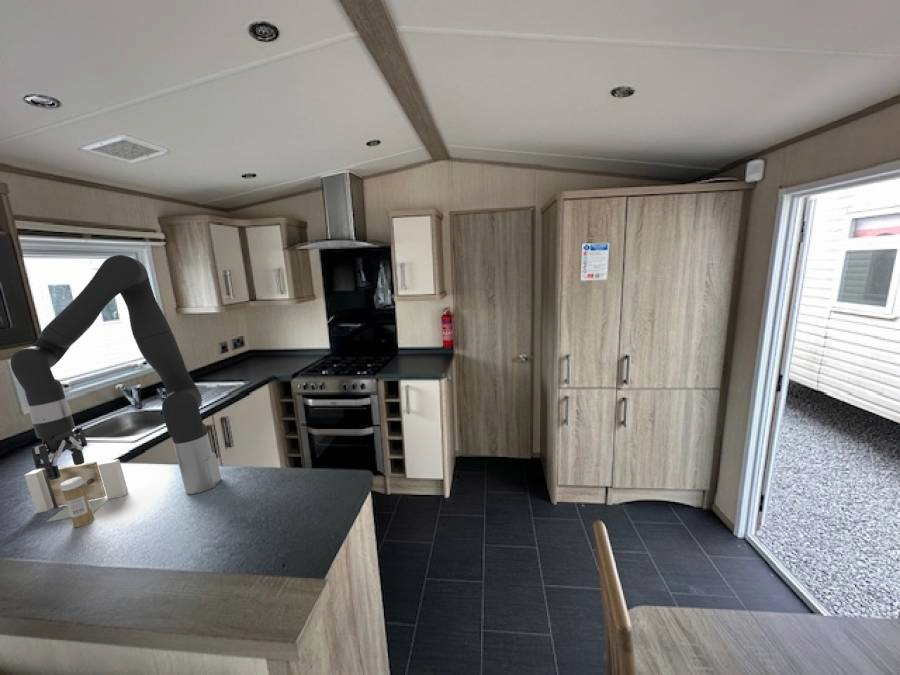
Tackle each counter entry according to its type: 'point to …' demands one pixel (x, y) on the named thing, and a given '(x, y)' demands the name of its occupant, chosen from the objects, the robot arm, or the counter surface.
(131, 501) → the counter surface
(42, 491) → the hinge post
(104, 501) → the mat
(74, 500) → the sprinkles bottle
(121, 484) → the wall
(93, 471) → the door
